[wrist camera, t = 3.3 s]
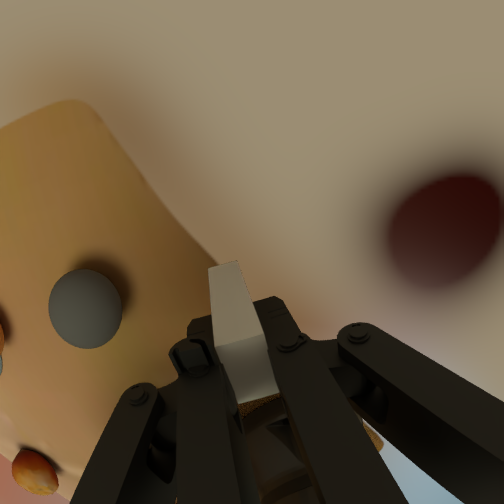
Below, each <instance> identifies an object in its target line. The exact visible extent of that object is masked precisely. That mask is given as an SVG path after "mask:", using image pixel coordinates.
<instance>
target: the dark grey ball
mask: <svg viewBox="0 0 504 504" xmlns="http://www.w3.org/2000/svg"><path fill="white" fill-rule="evenodd" d="M49 316H50V319H51V322H52V325H53V327H54V329H55V330H56V332H57V333H58V334H59V336H60V337H61V338H62V339H64V340H65V341H66V342H67V343H69V344H71V345H73V346H75V347H79V348H83V349H91V348H97V347H99V346H102V345H104V344H105V343H107V342H108V341H110V340H111V339H112V338H113V336H114V335H115V334H116V332H117V330H118V329H119V326H120V323H121V319H122V304H121V299H120V296H119V294H118V292H117V290H116V288H115V286H114V285H113V284H112V283H111V282H110V280H109V279H107V278H106V277H105V276H103V275H102V274H100V273H98V272H96V271H93V270H89V269H78V270H74V271H71V272H68V273H67V274H65V275H64V276H62V277H61V278H60V279H59V280H58V281H57V282H56V284H55V285H54V287H53V289H52V291H51V294H50V298H49Z"/></svg>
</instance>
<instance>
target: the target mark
mask: <svg viewBox="0 0 504 504" xmlns="http://www.w3.org/2000/svg"><path fill="white" fill-rule="evenodd" d="M1 372H2V358H1V355H0V375H1Z"/></svg>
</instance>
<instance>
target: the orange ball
mask: <svg viewBox="0 0 504 504" xmlns="http://www.w3.org/2000/svg"><path fill="white" fill-rule="evenodd" d="M3 348H4V334H3V329H2V327H1V324H0V355H1V354H2V351H3Z"/></svg>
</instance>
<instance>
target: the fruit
mask: <svg viewBox="0 0 504 504" xmlns="http://www.w3.org/2000/svg"><path fill="white" fill-rule="evenodd" d="M12 475H13V477H14V479H15V481H16V482H17V483H18V485H20V486H21V487H23V488H24V489H25V490H27V491H29V492H31V493H34V494H38V495H43V496H44V495H49V494H53V493H54V492H55V491H56V490H57V488H58V486H59V484H58V478H57V475H56V473H55V471H54V469H53V467H52V466H51V465H50V464H49V463H48V462H47V461H46V460H45V459H44V458H43V457H42V456H41V455H40V454H38V453H36V452H34V451H31V450H22V449H21V450H20V451H19V453H18V454H17V456H16V457H15V459H14V461H13V463H12Z"/></svg>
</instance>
